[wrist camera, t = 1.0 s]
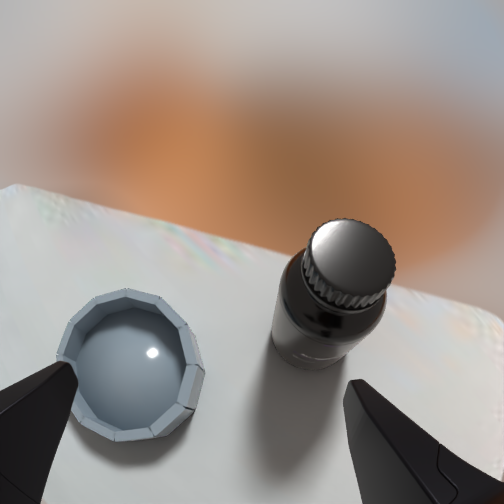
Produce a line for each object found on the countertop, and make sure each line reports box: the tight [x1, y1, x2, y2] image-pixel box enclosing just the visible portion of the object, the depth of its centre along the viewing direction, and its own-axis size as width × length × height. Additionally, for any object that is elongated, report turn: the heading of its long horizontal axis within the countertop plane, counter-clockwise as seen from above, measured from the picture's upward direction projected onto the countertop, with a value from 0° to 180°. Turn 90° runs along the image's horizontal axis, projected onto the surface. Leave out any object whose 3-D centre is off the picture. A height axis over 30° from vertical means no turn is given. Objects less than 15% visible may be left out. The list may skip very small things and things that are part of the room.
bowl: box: [56, 288, 205, 442], centre depth 20 cm, size 13×13×3 cm
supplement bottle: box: [272, 218, 396, 370], centre depth 18 cm, size 7×7×12 cm
